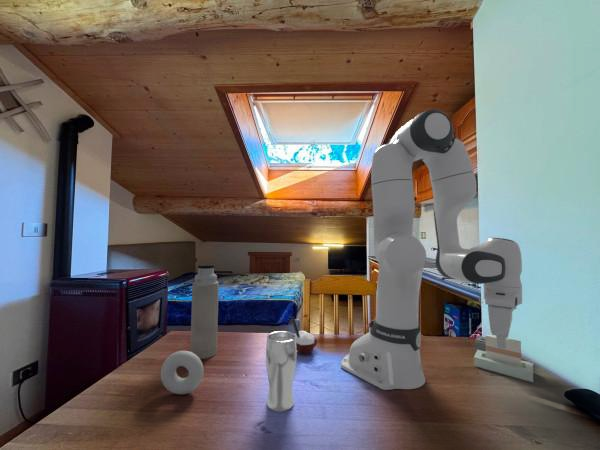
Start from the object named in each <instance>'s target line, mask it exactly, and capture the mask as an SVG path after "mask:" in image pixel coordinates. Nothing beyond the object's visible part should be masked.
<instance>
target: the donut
mask: <svg viewBox="0 0 600 450" xmlns="http://www.w3.org/2000/svg"><path fill="white" fill-rule="evenodd" d="M179 367H184V368H185V369H186V370H187V372H188V374H187V375H188V376H186V377H180V376H179V375H178V373H177V368H179ZM204 372H205V370H204V365H203V362H202V360H201V359H200V358H199V357H198V356H197V355H196V354H194V353H192V352H190V351H188V350H177V351H175V352H173V353H171V354H170V355H169V356H168V357H167V358H165V360H164V362H163V364H162V365H161V368H160V380H161V383H162V384H163V387H165V389H166V390H167V391H169V392H170V393H172V394H173V395H186V394H189V393H191V392H193V391H195V390H196V389H197V388H198V387H199V385H201V383H202V380H203V378H204Z"/></svg>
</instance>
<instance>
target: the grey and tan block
mask: <svg viewBox="0 0 600 450" xmlns="http://www.w3.org/2000/svg"><path fill="white" fill-rule="evenodd" d="M474 346H475V347H474V348H475V349H474V351H475V354H476V352H477V350H481V351H485V352H486V336H485V337H484V336H479V335H478V336H477V338H476V339H475V343H474ZM475 354H474V355H475Z"/></svg>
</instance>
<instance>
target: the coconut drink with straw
mask: <svg viewBox="0 0 600 450" xmlns="http://www.w3.org/2000/svg"><path fill="white" fill-rule="evenodd" d="M290 319H291V322H292V325H293V328H294V329H293V330H294V332H295V335H296V348H297V353H299V354H300V355H303V356H308V355H311V353H312V352H313V351H314V348H315V347H316V346H317V343H318V341H317V339H315V336H314V335H313V334H311V333H309V332H307V331H306V330H298V326H297V322H296V319H295V317H294V316H292V315H291V316H290Z"/></svg>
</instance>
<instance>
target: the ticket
mask: <svg viewBox="0 0 600 450" xmlns="http://www.w3.org/2000/svg"><path fill="white" fill-rule="evenodd" d="M485 338H486V358H488V359H492V360H496V361H499V362H503V363H507V364H511V365H515V366H519V367H521V360H522V340H518V339H517V340H516V339H511V338H509V337H508V338H506V348H505V349H502V348H498V346H497V337H496V335H492V334H488V333H487V334H486V333H485Z"/></svg>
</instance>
